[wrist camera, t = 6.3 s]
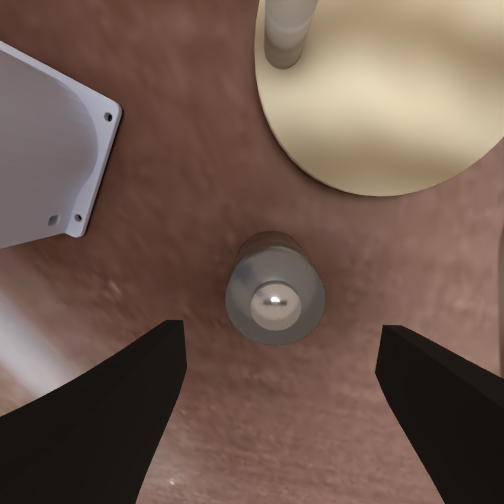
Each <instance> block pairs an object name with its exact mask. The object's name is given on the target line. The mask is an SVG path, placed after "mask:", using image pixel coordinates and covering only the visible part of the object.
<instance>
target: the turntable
mask: <svg viewBox="0 0 504 504" xmlns="http://www.w3.org/2000/svg"><path fill="white" fill-rule="evenodd" d="M254 50H255V70H256V81H257V87H258V93H259V98H260V101H261V105H262V108H263V112H264V115H265V117H266V120H267V122H268V124H269V127H270V129H271V131H272V133H273V135H274V136H275V138H276V140H277V141H278V143H279V145H280V146H281V147H282V149H283V150H284V151H285V153H286V154H287V155H288V156H289V158H290V159H291V160H292V161H293V162H294V163H295V164H296V165H297V166H298V167H299V168H300V169H301V170H303V171H304V172H306V173H307V174H308V175H310V176H311V177H312V178H314V179H315V180H317V181H319V182H321V183H323V184H325V185H327V186H329V187H332V188H335V189H337V190H340V191H343V192H348V193H353V194H358V195H368V196H395V195H402V194H407V193H412V192H417V191H420V190H423V189H426V188H429V187H432V186H434V185H437V184H439V183H441V182H443V181H446V180H448V179H450V178H452V177H453V176H455V175H457V174H458V173H460V172H462V171H463V170H465V169H467V168H468V167H469V166H471V165H472V164H473V163H475V162H476V161H477V160H479V159H480V158H481V157H483V156H484V155H485V154H486V153H487V152H488V151H489V150H490V149H492V148H493V147H494V146H495V145H496V144H497V143H498V142H499V141H500V140H501V139H502V138H503V136H504V0H260V2H259V8H258V13H257V19H256V28H255V45H254Z"/></svg>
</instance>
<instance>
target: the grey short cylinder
mask: <svg viewBox="0 0 504 504" xmlns="http://www.w3.org/2000/svg"><path fill="white" fill-rule="evenodd" d="M325 304H326V294H325V289H324V286H323V283H322V281H321V279H320V278H319V276H318V274H317V273H316V271H315V270H314V268H313V266H312V265H311V263H310V262H309V260H308V258H307V257H306V255H305V254H304V252H303V250H302V249H301V247H300V246H299V244H298V243H297V242H296V241H295V240H294V239H293V238H292V237H290V236H289V235H287V234H285V233H282V232H278V231H264V232H260V233H257V234H255V235H253V236H252V237H250V238H249V239H248V240H247V241H246V242H245V243H244V244H243V245H242V247H241V249H240V251H239V253H238V256H237V259H236V262H235V265H234V268H233V271H232V274H231V277H230V280H229V283H228V286H227V290H226V296H225V305H226V311H227V314H228V317H229V319H230V321H231V322H232V324H233V325H234V327H235V328H236V329H237V330H238V331H239V332H240V333H241V334H242V335H244V336H245V337H247V338H248V339H250V340H252V341H255V342H257V343H261V344H265V345H276V346H277V345H285V344H290V343H293V342H296V341H298V340H300V339H302V338H304V337H305V336H307V335H308V334H309V333H310V332H311V331H312V330H313V329H314V328H315V327H316V326H317V325H318V323H319V322H320V320H321V318H322V316H323V313H324V310H325Z"/></svg>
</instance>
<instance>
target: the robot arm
mask: <svg viewBox="0 0 504 504" xmlns="http://www.w3.org/2000/svg"><path fill="white" fill-rule="evenodd" d="M110 114H111V115H112V121H110V122H109V120H108V116H109V115H110ZM121 115H122V109H121V107H120V105H119V104H118V103H116V102H115V101H113V100H111V99H109V98H107V97H105V96H103V95H101V94H100V93H98V92H96V91H94V90H92V89H90V88H88V87H86V86H84V85H83V84H81V83H79V82H77V81H75V80H73V79H71V78H69V77H67V76H66V75H64V74H62V73H60V72H58V71H56V70H54V69H52V68H51V67H49V66H47V65H45V64H43V63H41V62H39V61H37V60H35V59H34V58H32V57H30V56H28V55H26V54H24V53H22V52H20V51H18V50H17V49H15V48H13V47H11V46H9V45H7V44H5V43H3V42H2V41H0V249H1V248H5V247H9V246H13V245H17V244H21V243H26V242H30V241H34V240H38V239H42V238H46V237H50V236H54V235H58V234H62V233H66V234H68V235H70V236H72V237H81V236H83V235H84V233H85V230H86V227H87V224H88V220H89V217H90V214H91V211H92V208H93V204H94V201H95V198H96V195H97V192H98V188H99V185H100V182H101V179H102V176H103V172H104V169H105V166H106V163H107V160H108V156H109V153H110V150H111V147H112V144H113V140H114V137H115V134H116V131H117V128H118V124H119V121H120V118H121ZM79 215H80V216H81V217H82V220H80V219H79ZM186 369H187V361H186V349H185V337H184V325H183V320H166V321H164V322H162V323H161V324H159V325H158V326H156V327H155V328H153V329H152V330H150V331H149V332H147V333H146V334H144V335H143V336H141V337H140V338H139V339H137V340H136V341H134V342H133V343H131V344H130V345H128V346H127V347H125V348H124V349H122V350H121V351H119V352H118V353H116V354H114V355H113V356H111V357H110V358H108V359H106V360H105V361H103V362H102V363H100V364H98V365H97V366H95V367H94V368H92V369H90V370H89V371H87V372H86V373H84V374H82V375H80V376H79V377H77V378H75V379H73V380H72V381H70V382H68V383H66V384H65V385H63V386H61V387H59V388H57V389H55V390H53V391H52V392H50V393H48V394H46V395H44V396H42V397H40V398H38V399H36V400H34V401H32V402H30V403H29V404H26V405H24V406H22V407H20V408H18V409H16V410H14V411H12V412H10V413H7V414H5V415H3V416H1V417H0V504H135V503H136V500H137V497H138V494H139V491H140V488H141V486H142V483H143V480H144V478H145V475H146V473H147V470H148V468H149V465H150V463H151V461H152V458H153V456H154V453H155V451H156V449H157V446H158V444H159V442H160V439H161V437H162V435H163V432H164V430H165V427H166V425H167V423H168V420H169V418H170V416H171V413H172V411H173V408H174V406H175V404H176V401H177V399H178V396H179V393H180V390H181V387H182V383H183V380H184V376H185V373H186ZM375 374H376V377H377V379H378V381H379V384H380V386H381V389H382V391H383V393H384V396H385V398H386V400H387V402H388V404H389V406H390V408H391V409H392V411H393V413H394V415H395V417H396V418H397V420H398V422H399V424H400V425H401V427H402V429H403V431H404V432H405V434H406V436H407V437H408V439H409V441H410V443H411V444H412V446H413V448H414V450H415V451H416V453H417V455H418V456H419V458H420V460H421V462H422V463H423V465H424V467H425V469H426V470H427V472H428V474H429V475H430V477H431V479H432V481H433V482H434V484H435V486H436V488H437V490H438V492H439V494H440V495H441V497H442V499H443V501H444V503H445V504H504V379H503V378H501V377H499V376H497V375H495V374H493V373H491V372H489V371H487V370H485V369H483V368H481V367H479V366H478V365H476V364H474V363H472V362H470V361H468V360H466V359H464V358H463V357H461V356H459V355H457V354H455V353H453V352H451V351H450V350H448V349H446V348H444V347H442V346H440V345H439V344H437V343H435V342H433V341H431V340H429V339H427V338H426V337H424V336H422V335H420V334H418V333H416V332H414V331H412V330H410V329H408V328H406V327H403V326H401V325H383V329H382V334H381V340H380V346H379V352H378V358H377V364H376V369H375Z"/></svg>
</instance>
